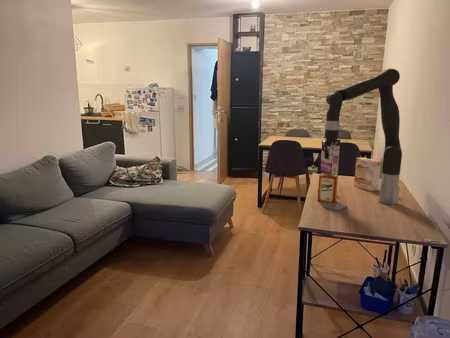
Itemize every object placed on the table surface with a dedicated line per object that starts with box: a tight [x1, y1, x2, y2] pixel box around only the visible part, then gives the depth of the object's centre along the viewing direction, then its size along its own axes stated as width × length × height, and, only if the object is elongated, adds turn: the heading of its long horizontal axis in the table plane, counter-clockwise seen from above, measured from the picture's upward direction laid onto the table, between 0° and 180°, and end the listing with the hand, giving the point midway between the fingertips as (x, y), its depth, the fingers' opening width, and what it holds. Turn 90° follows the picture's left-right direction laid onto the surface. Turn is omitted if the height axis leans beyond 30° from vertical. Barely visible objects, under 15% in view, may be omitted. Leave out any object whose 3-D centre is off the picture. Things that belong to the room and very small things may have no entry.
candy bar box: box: [320, 145, 341, 175], centre depth 201 cm, size 11×5×16 cm, turn 18°
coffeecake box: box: [353, 157, 382, 192], centre depth 234 cm, size 15×7×20 cm, turn 25°
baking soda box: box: [317, 172, 339, 204], centre depth 204 cm, size 10×6×16 cm
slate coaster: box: [321, 202, 348, 212], centre depth 195 cm, size 10×10×1 cm
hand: (330, 158), depth 201 cm, fingers closed on candy bar box, 6 cm apart
